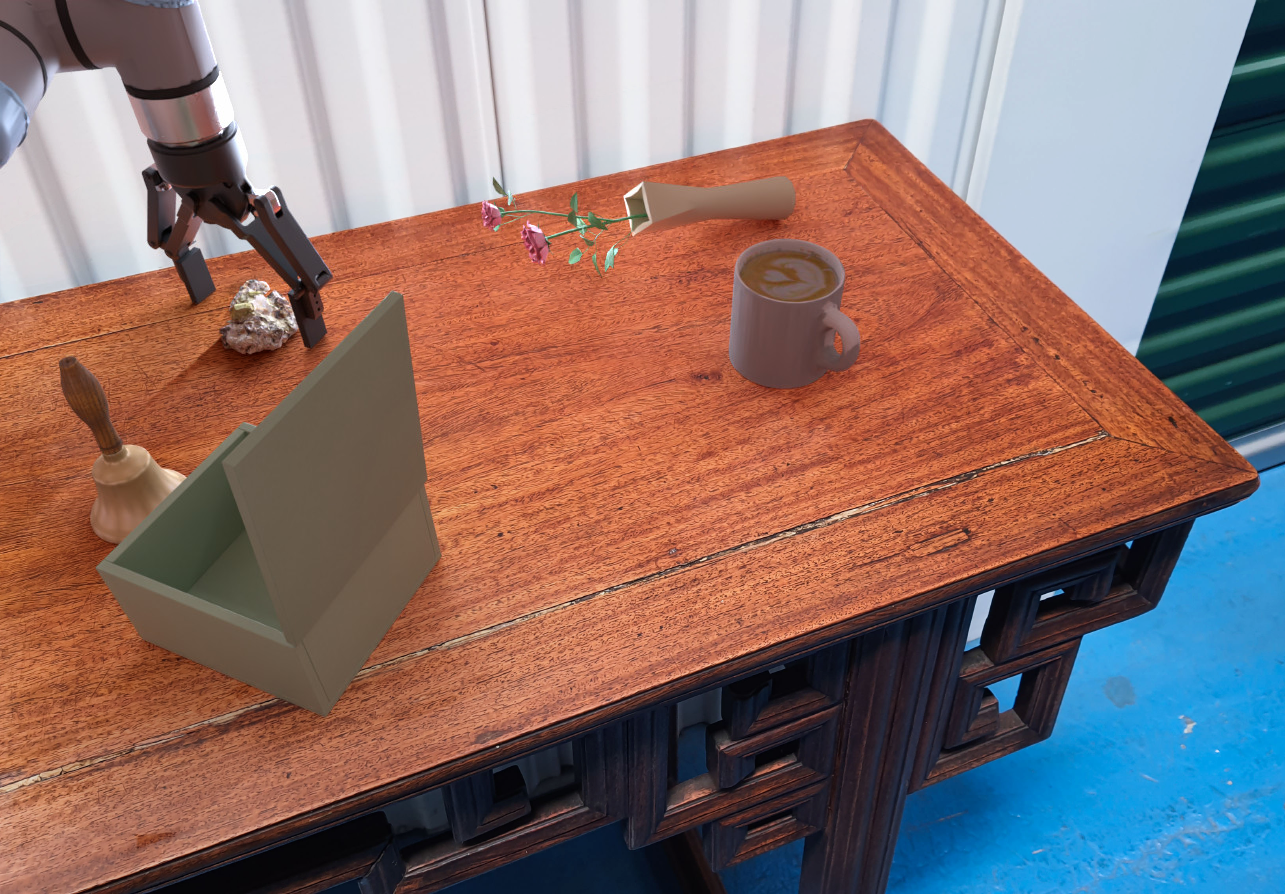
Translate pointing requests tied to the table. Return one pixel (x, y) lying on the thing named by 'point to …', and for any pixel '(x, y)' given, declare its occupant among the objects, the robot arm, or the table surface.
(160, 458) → the table surface
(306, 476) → the chest lid
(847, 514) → the table surface
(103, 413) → the hand bell
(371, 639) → the chest
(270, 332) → the mineral rock
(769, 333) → the coffee mug
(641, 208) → the flower vase
